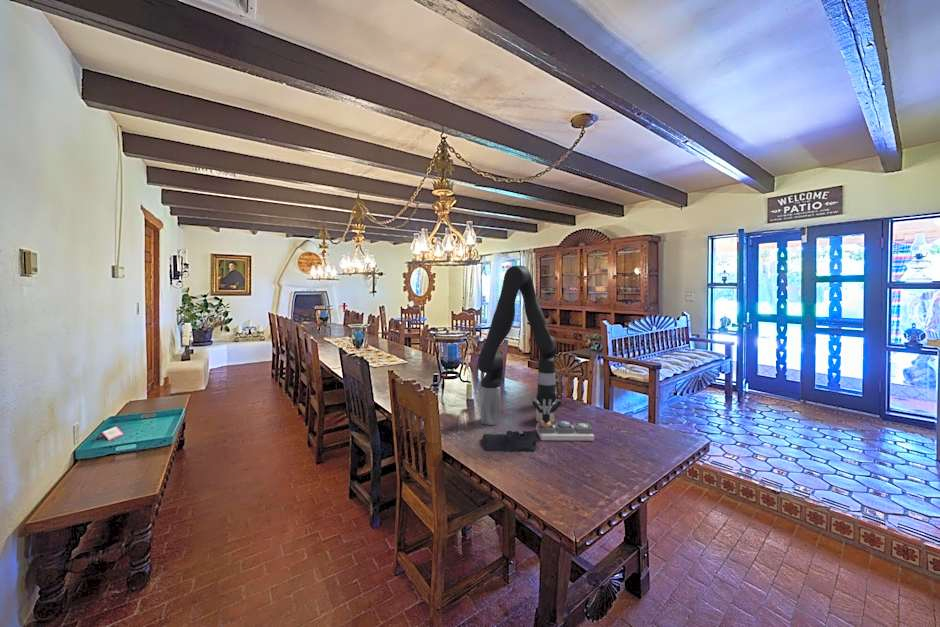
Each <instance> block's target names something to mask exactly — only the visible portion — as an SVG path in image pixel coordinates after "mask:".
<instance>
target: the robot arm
mask: <svg viewBox="0 0 940 627" xmlns="http://www.w3.org/2000/svg"><path fill="white" fill-rule="evenodd" d="M519 292H520V293H521V296H522V299H523V304H524V311H525V316H526V319H527V321H528V324H529V326H530V328H531V330H532V334H533V338H534V342H535V345H536V347H537V349H538V351H540V355H539V356H540V357H539V358H538V363H537V364H538V365H537V369H538V371H537V379H536V381H537V393H536V397H535V398H534V399H531V404H532V406H534V408H535V410H536V409H537V410H538V411H539V412H540V413H542V419H543V421H544V423H548V421H549V420H550V413H554V414H555V411H556V410H558V408H559V407H560V406H561V405H562V401H561V399H557V398H556V397H557V395H555V392H556V387H555V385H556V384H555V381H557V379H556V378H555V373H556V355H557V346H558V345H557V340H556V338H555V337H554V336H553V335H550V332H549V330H548V327H549V326H548V322H547V320H546V317H545V314H544V313H543V310H542V307H541V305H540V302H539V300H538V297H537V294H536V290H535V286H534V282H533V278H532V274H531V271H530V269H529V268H528V267H526V266H525V265H512V266H510V267H509V268H507V270H506V271H505V273H504V277H503V281H502V287H501V291H500V295H499V298H498V301H497V305H496V308H495V311H494V314H493V317H492V320H491V324H490V327H489V329H488V333H487V334H486V339H485V342H484V344H483V346H482V349H481V351H480V353H479V355H478V359H477V367H478V370H479V371H480V372H481V373H485V375H484V377H483V378H481V380H480V424H481V425H482V424H483V425H488V426H496V425H499V424H500V423H501V404H502V402H501V396H502V395H501V392H502V388H501V386H502V381H503V376H504V375H503V374H504V358H503V356H502V354H501V353H500V351H499V352H498V349H499V347H500V346H501V344H502V343H503V341H504V340H505V339H507V338H506V337H507V336H508V335H509V333H510V332H511V330H512V328H513V324H514V322H515V317H516V306H515V304H516V298H517V296H518V294H519ZM537 401H539V403H540V404H541V405H542V409H540V407H539V406H538V405H537V404H538V402H537ZM554 402H555V404H554V405H553V407H552V408H551V405H552V404H553V403H554Z"/></svg>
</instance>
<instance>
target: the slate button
mask: <svg viewBox="0 0 940 627" xmlns="http://www.w3.org/2000/svg"><path fill="white" fill-rule="evenodd" d="M558 423H559V428H570V424H571V423H570V422H569V421H567V420H561V421H559V422H558Z"/></svg>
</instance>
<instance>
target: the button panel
mask: <svg viewBox="0 0 940 627" xmlns="http://www.w3.org/2000/svg"><path fill="white" fill-rule="evenodd" d="M580 423H582V424H587V425H588V428H578V424H580ZM540 425H541V422H537V423H536V426H535V429H536V432H537V434H538V436H539V439H540V441H578V442H579V441H585V442H586V441H592V442H594V441H595V435H594V434H593V431H594V429H593V427H592V426H591V425H590V423H589V422H573V424H571V423H570V428H559V422H554V424H553V422H552V423H551V428H541V427H540Z"/></svg>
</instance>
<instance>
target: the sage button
mask: <svg viewBox="0 0 940 627" xmlns="http://www.w3.org/2000/svg"><path fill="white" fill-rule="evenodd" d="M579 423H580V424H578V428H588V425H587V424H582V423H583V422H579Z"/></svg>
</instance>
